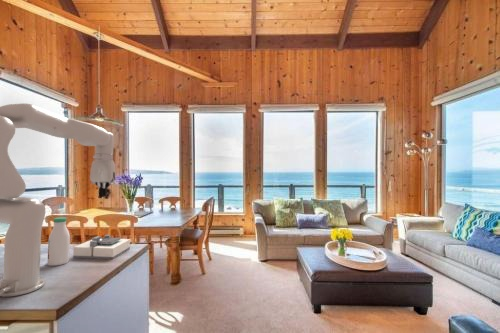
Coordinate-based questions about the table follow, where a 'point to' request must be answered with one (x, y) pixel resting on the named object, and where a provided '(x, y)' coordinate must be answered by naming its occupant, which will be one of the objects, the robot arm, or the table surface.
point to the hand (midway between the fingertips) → (102, 196)
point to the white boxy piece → (101, 249)
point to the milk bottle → (59, 243)
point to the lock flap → (107, 240)
